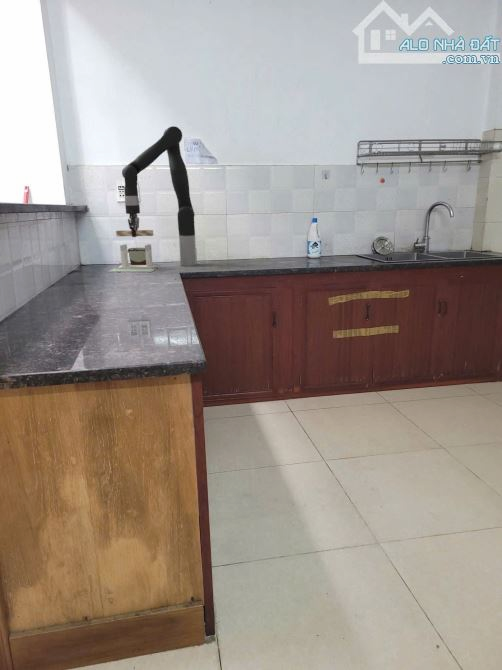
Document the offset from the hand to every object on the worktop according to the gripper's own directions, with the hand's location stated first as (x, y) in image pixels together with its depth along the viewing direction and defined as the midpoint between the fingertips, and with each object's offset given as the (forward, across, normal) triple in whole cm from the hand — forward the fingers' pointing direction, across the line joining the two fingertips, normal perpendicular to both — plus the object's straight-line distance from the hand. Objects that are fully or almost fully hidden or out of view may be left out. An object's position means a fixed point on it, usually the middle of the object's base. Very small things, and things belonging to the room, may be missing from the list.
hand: (135, 236), depth 263 cm
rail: (0, 0, 0) cm, 0 cm away
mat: (+18, -10, 0) cm, 20 cm away
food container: (+18, +12, +2) cm, 22 cm away
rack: (+18, 0, 0) cm, 18 cm away
